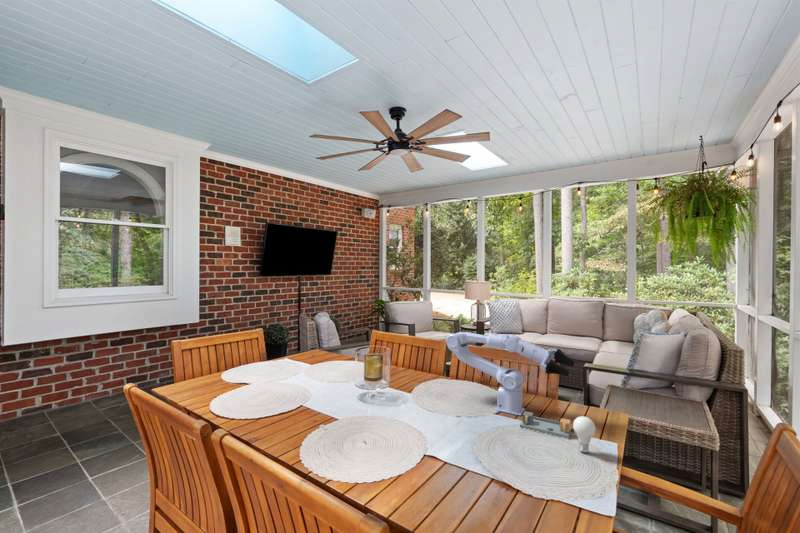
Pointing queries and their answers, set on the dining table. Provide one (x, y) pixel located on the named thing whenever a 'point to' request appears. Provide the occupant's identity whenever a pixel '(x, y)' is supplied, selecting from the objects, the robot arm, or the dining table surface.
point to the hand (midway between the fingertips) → (571, 368)
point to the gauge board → (542, 425)
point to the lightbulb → (584, 431)
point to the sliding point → (565, 425)
